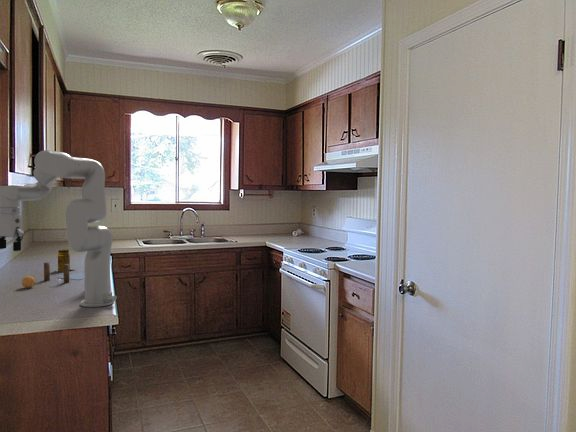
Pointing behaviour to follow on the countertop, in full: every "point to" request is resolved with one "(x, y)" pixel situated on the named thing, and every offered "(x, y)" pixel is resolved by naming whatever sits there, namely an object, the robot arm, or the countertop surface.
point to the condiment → (63, 259)
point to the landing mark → (75, 276)
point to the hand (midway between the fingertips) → (9, 249)
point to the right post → (66, 273)
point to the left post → (47, 271)
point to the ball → (28, 281)
